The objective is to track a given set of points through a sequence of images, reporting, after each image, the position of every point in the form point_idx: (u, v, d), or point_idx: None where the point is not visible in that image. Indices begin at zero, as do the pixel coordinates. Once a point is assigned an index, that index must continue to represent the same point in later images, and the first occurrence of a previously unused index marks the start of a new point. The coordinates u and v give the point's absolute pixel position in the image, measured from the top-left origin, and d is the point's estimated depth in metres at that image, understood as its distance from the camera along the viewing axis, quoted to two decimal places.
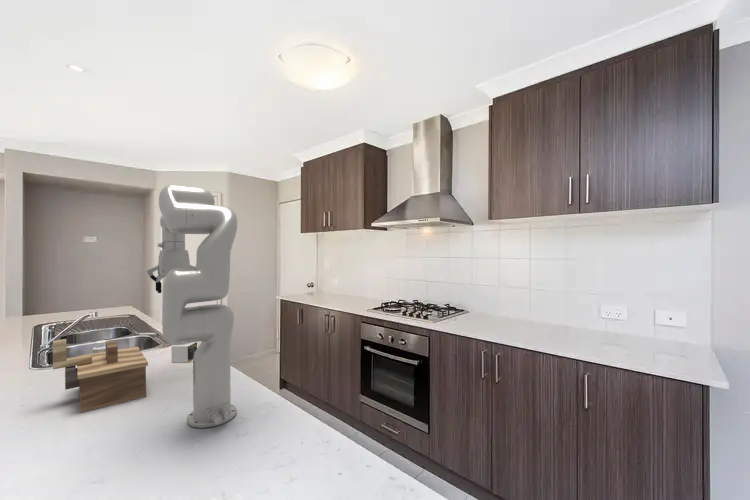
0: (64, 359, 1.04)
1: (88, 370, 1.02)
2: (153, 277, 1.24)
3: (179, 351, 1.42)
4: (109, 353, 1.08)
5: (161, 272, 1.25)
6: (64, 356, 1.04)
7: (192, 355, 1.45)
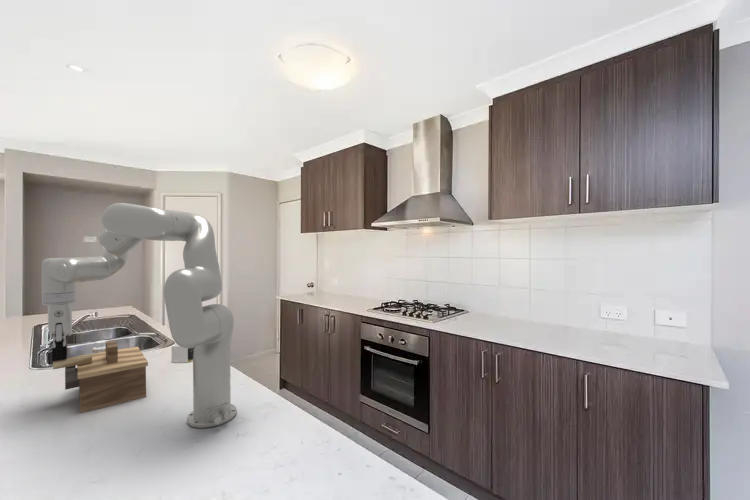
0: None
1: (88, 370, 1.02)
2: (63, 341, 1.02)
3: (179, 351, 1.42)
4: (109, 353, 1.08)
5: (70, 330, 1.02)
6: None
7: (192, 355, 1.45)
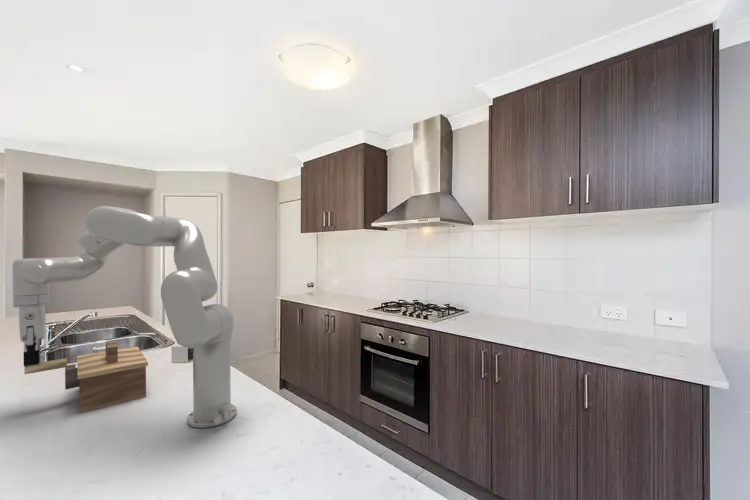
0: None
1: (88, 370, 1.02)
2: None
3: (179, 351, 1.42)
4: (109, 353, 1.08)
5: (43, 334, 0.99)
6: None
7: (192, 355, 1.45)
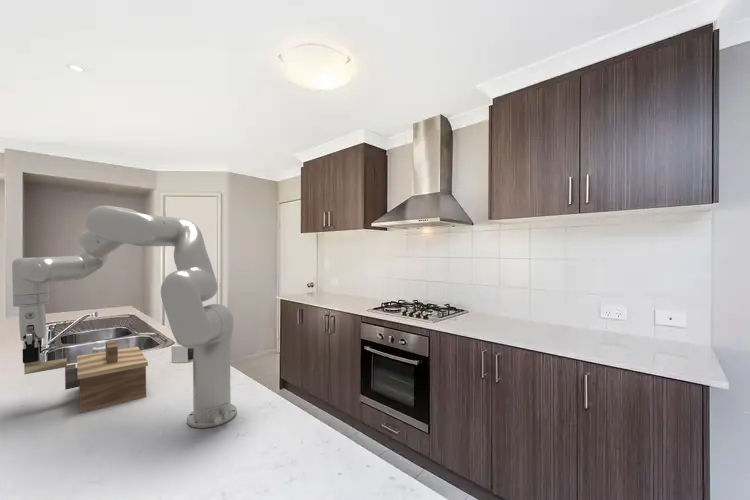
0: (36, 363, 1.00)
1: (88, 370, 1.02)
2: None
3: (179, 351, 1.42)
4: (109, 353, 1.08)
5: (43, 333, 0.99)
6: None
7: (192, 355, 1.45)
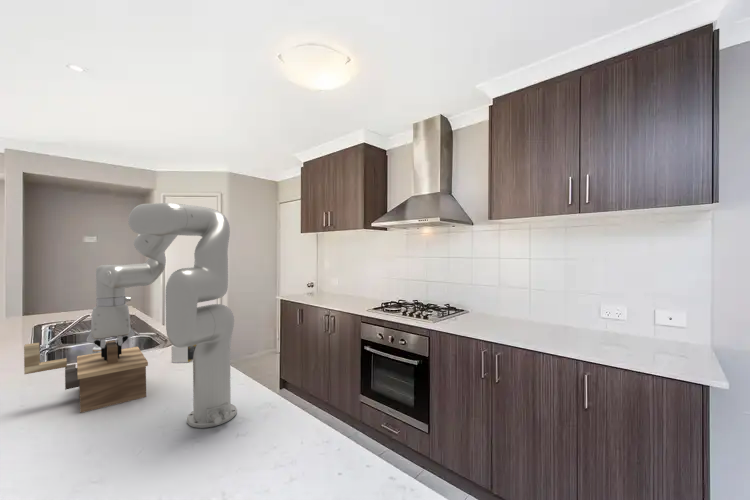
0: (36, 363, 1.00)
1: (88, 370, 1.02)
2: None
3: (179, 351, 1.42)
4: (109, 353, 1.08)
5: None
6: (36, 360, 1.00)
7: (192, 355, 1.45)
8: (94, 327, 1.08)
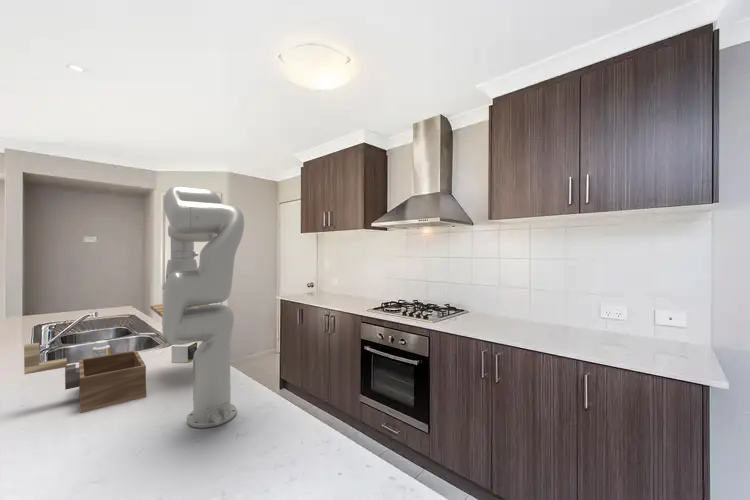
0: (36, 363, 1.00)
1: None
2: None
3: (179, 351, 1.42)
4: None
5: None
6: (36, 360, 1.00)
7: (192, 355, 1.45)
8: None
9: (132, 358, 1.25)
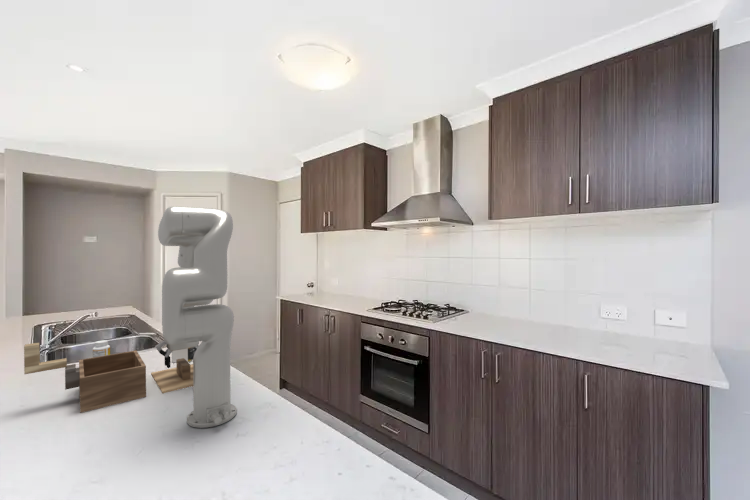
0: (36, 363, 1.00)
1: (168, 386, 1.16)
2: None
3: (179, 351, 1.42)
4: (184, 371, 1.22)
5: None
6: (36, 360, 1.00)
7: (192, 355, 1.45)
8: None
9: (132, 358, 1.25)
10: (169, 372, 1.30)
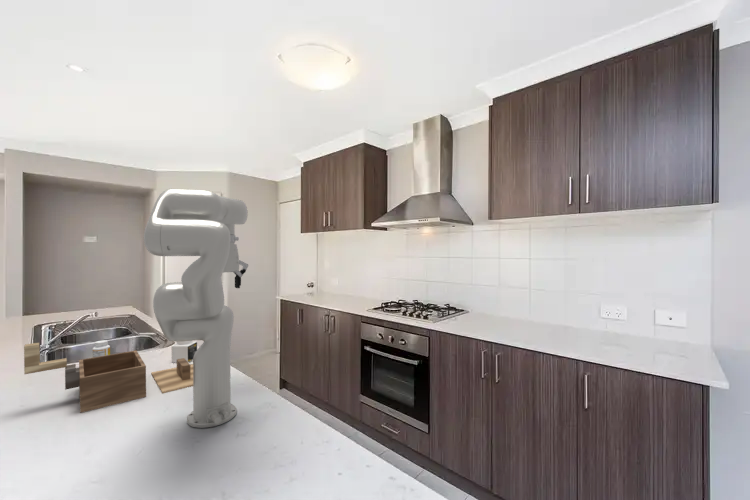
0: (36, 363, 1.00)
1: (168, 387, 1.16)
2: None
3: (179, 351, 1.42)
4: (183, 371, 1.22)
5: None
6: (36, 360, 1.00)
7: (192, 355, 1.45)
8: None
9: (132, 358, 1.25)
10: (169, 372, 1.30)
